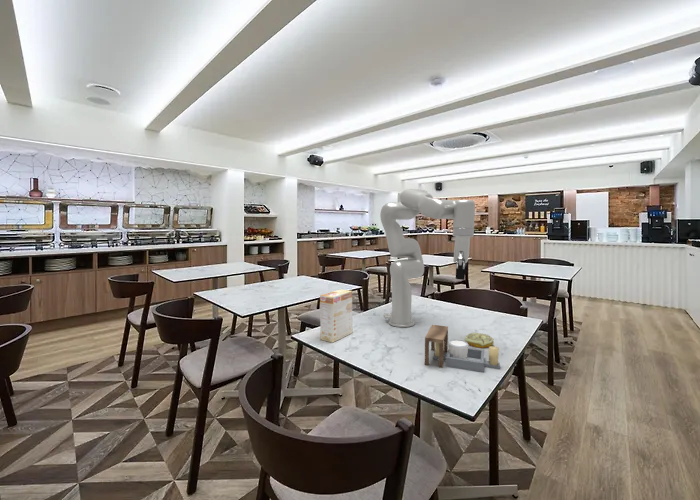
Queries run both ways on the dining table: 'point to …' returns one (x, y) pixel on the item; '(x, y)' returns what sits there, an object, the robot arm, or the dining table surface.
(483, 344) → the decorated donut
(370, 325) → the dining table surface
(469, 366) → the slider
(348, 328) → the coffeecake box
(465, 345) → the white cylinder
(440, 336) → the tunnel
